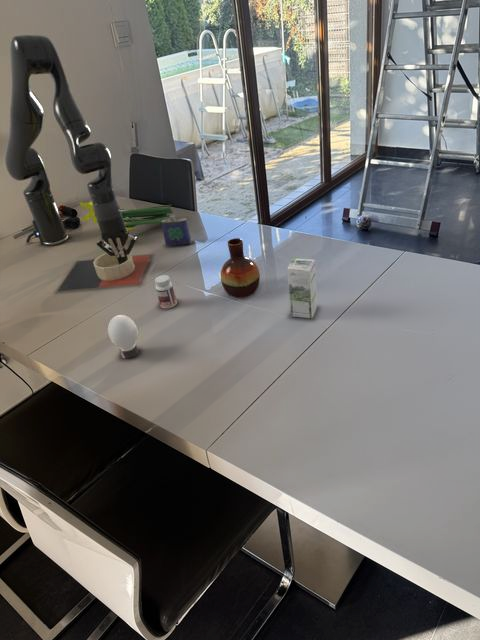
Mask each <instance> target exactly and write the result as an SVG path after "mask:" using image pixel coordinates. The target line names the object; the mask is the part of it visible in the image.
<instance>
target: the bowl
mask: <svg viewBox="0 0 480 640" xmlns="http://www.w3.org/2000/svg"><path fill="white" fill-rule="evenodd" d="M132 256H133V255H132V253H131V252H130V254H129V255H127V258H128V260H127V261H126V262H124V263H122V264H120V265H119V262H118V259H117V257H116V256H110V255H109V254H108V253H106V252H105V253H103V254H100V255H99V256H97V257H96V258H95V259H94V260H95V261H94V262H93V263H94V267H95V270H96V273H97V275H98V277H99V278H100V279H102V280H107V281H111V280H118V279H121V278H124V277H126V276H128V275H130V274H131V273H132V272H133V271H134V269H135V265H134V262H133V259H132Z"/></svg>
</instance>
